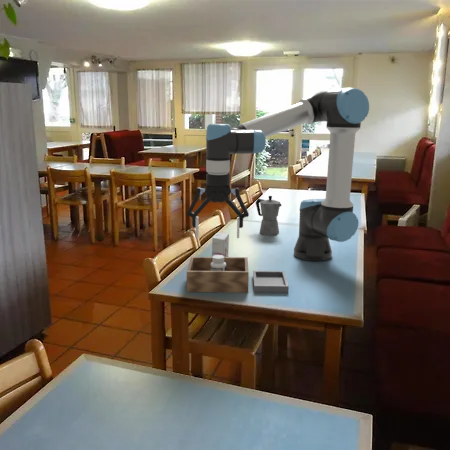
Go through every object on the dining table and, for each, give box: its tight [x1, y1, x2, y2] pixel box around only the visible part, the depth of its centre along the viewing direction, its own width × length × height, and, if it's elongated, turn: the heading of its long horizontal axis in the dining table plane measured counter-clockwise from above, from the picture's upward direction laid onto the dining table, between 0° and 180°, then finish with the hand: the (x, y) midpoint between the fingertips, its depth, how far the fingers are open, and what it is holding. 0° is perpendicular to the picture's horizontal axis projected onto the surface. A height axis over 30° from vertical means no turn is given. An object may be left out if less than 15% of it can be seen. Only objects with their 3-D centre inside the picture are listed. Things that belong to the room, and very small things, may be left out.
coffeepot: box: [255, 195, 282, 236], centre depth 217 cm, size 15×9×18 cm, turn 44°
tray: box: [252, 270, 290, 294], centre depth 156 cm, size 11×14×2 cm
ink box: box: [211, 232, 230, 257], centre depth 173 cm, size 9×5×12 cm, turn 168°
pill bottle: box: [210, 255, 226, 271], centre depth 156 cm, size 5×5×10 cm
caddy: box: [186, 256, 250, 294], centre depth 156 cm, size 20×15×7 cm
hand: (217, 236), depth 153 cm, fingers open, 13 cm apart
